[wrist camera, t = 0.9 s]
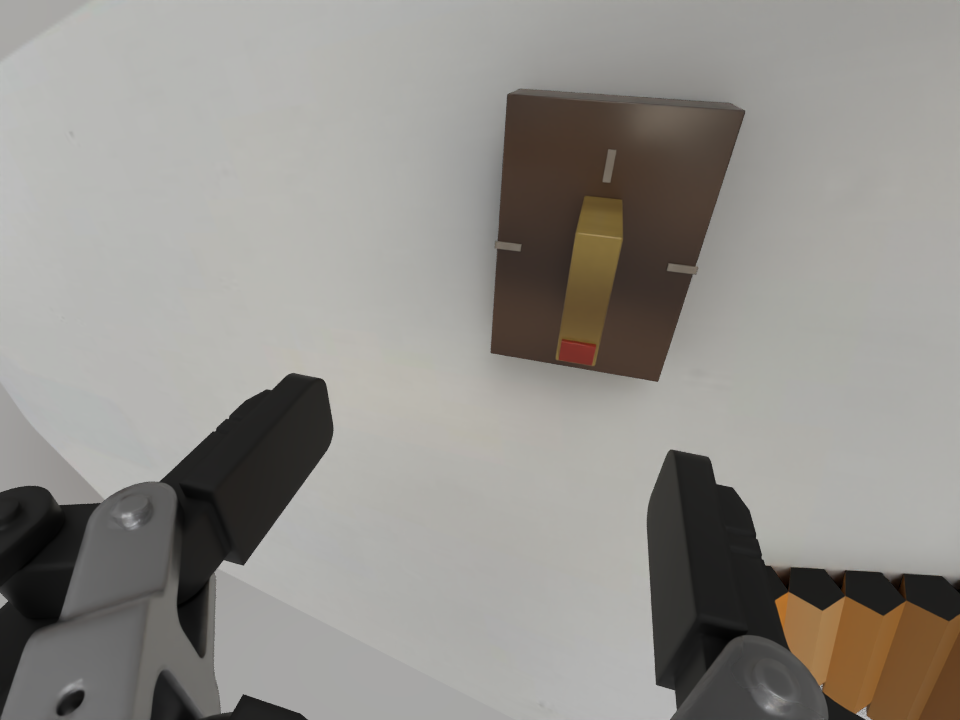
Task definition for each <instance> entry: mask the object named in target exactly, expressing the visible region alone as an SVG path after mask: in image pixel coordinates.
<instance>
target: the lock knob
mask: <svg viewBox="0 0 960 720" xmlns="http://www.w3.org/2000/svg"><path fill="white" fill-rule="evenodd" d="M622 242H623V204H622V200H620V199H611V198H601V197H592V196H585V197H584V200H583V204H582V208H581V212H580V217H579V221H578V225H577V229H576V233H575V239H574V246H573V252H572V258H571V264H570V271H569V277H568V283H567V289H566V295H565V302H564V308H563V314H562V320H561V327H560V333H559V339H558V345H557V351H556V360H560V361H566V362H572V363H578V364H584V365H589V366H595V364H596V359H597V355H598V350H599V345H600V341H601V336H602V332H603V327H604V323H605V318H606V314H607V309H608V305H609V300H610V296H611V291H612V287H613V282H614V278H615V273H616V269H617V264H618V260H619V255H620V251H621V246H622Z"/></svg>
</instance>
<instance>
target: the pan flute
mask: <svg viewBox="0 0 960 720" xmlns="http://www.w3.org/2000/svg"><path fill="white" fill-rule="evenodd" d="M765 567H766V571H767V574H768V578H769V581H770V585H771V589H772V592H773V596H774V599H775V603H776V606H777V610H778V613H779V617H780V621H781V624H782V628H783V631H784V635H785V638H786V641H787V644H788V647H789V649H790V651H791V653H792V654H794V655H795V656H796V657H797V658H798V659H799V660H800V661H801V662H802V663H803V664H804V665H805V666H806V667H807V668H808V670H809V671H810V672H811V674H812V675H813V676H814V678H815V679H816V681H817V683H818V684H819V686H820V685H821V684H823V688H822V692H824V693H825V694H826V695H827V696H829V697H830V698H831V699H832V700H834V701H835V702H837V703H838V704H840V705H841V706H843V707H844V708H846V709H848V710H849V711H851V712H853V713H855V714H856V713H857V712H859V711H860V710H861V709H863V708H864V707H865V706H866V709H867V716H868V717H869V718H871V719H872V720H960V593H959V592H958V591H957V590H955V589H954V588H953V587H952V586H951V585H950V584H949V583H948V582H947V581H946V580H945V579H944V578H943V577H942V576H927V575H910V574H904V575H903V578H902V581H901V584H900V587H899V590H898V591H897V590H896V589H895V588H894V586H893V585H892V584H891V583H890V582H889V581H888V580H887V579H886V578H885V577H884V575H883V574H882V573H876V572H859V571H845V575H844V580H843V584H842V588H841V590H840V589H839V587H838V586H837V585H836V584H835V582H834V581H833V580H832V579H831V577H830V576H829V575H828V574H827V572H826V571H825V570H824V569H808V568H791V571H790V579H789V586H788V590H787V589H786V587H785V586H784V584H783V583H782V581H781V580H780V579H779V577H778V576H777V574H776V573H775V571H774V570H773V568H772V567H771V566H765Z"/></svg>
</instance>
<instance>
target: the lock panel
mask: <svg viewBox="0 0 960 720" xmlns="http://www.w3.org/2000/svg"><path fill="white" fill-rule="evenodd" d="M744 115H745V110H743V109H741V108H739V107H737V106H735V105H733V104H731V103H721V102H706V101H691V100H677V99H662V98H648V97H633V96H618V95H604V94H589V93H575V92H560V91H545V90H531V89H518V90H516V91H514V92H511V93H509V94H508V95H507V107H506V122H505V137H504V153H503V168H502V184H501V199H500V215H499V230H498V241H495V248H497V261H496V277H495V292H494V308H493V323H492V338H491V353H493V354H499V355H505V356H511V357H517V358H522V359H528V360H534V361H540V362H546V363H552V364H557V365H563V366H569V367H575V368H581V369H586V370H592V371H598V372H604V373H610V374H615V375H621V376H627V377H633V378H639V379H645V380H650V381H656V382H658V381H659V377H660V374H661V371H662V368H663V365H664V362H665V359H666V356H667V353H668V350H669V347H670V343H671V340H672V337H673V334H674V331H675V328H676V325H677V322H678V319H679V316H680V313H681V309H682V306H683V303H684V300H685V297H686V294H687V291H688V288H689V285H690V282H691V278H692V275H693V274H695V275H696V273H697V270H698V267H695V266H696V263H697V260H698V257H699V254H700V251H701V248H702V244H703V241H704V238H705V235H706V232H707V229H708V226H709V223H710V220H711V217H712V214H713V210H714V207H715V204H716V201H717V198H718V195H719V192H720V189H721V186H722V183H723V180H724V176H725V173H726V170H727V167H728V164H729V161H730V158H731V155H732V152H733V149H734V146H735V142H736V139H737V136H738V133H739V130H740V127H741V124H742V121H743V118H744ZM585 196H592V197H601V198H611V199H620V200H622V204H623V242H622V246H621V251H620V255H619V260H618V264H617V269H616V273H615V278H614V282H613V287H612V291H611V296H610V300H609V305H608V309H607V314H606V318H605V323H604V327H603V332H602V336H601V341H600V345H599V350H598V355H597V359H596V364H595V366H589V365H584V364H578V363H572V362H566V361H560V360H556V351H557V345H558V339H559V333H560V327H561V320H562V314H563V308H564V302H565V295H566V289H567V283H568V277H569V271H570V264H571V258H572V252H573V246H574V239H575V233H576V229H577V225H578V221H579V217H580V212H581V208H582V204H583V200H584V197H585Z"/></svg>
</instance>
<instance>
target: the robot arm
mask: <svg viewBox="0 0 960 720" xmlns="http://www.w3.org/2000/svg"><path fill="white" fill-rule="evenodd" d="M332 436H333V421H332V415H331V409H330V404H329V398H328V392H327V387H326V383H325V381H324V380H323V379H320V378H316V377H310V376H305V375H300V374H295V373H291V374H289V375H287V376H286V377H285V378H284V379H283V380H282V381H281V382H280V383H279V384H278V385H277V386H276V387H275V388H274V389H273V390H265V391H263V392H261V393H259V394H257V395H255V396H253V397H252V398H250V399H248V400H246V401H245V402H244V403H243V404H241V405H240V406H239V407H238V408H237V409H236V410H235V411H234V412H233V413H232V414H231V415H230V416H229V419H226V420H225V421H223V422H222V423H221V424H220V425H219V426H218V427H217V428H216V431H215V432H212V433H211V434H210V435H209V436H208V437H207V438H205V439H204V440H203V441H202V442H201V443H200V444H199V445H198V446H197V447H196V448H195V449H194V450H193V451H192V452H191V453H190V454H189V455H187V456H186V457H185V458H184V459H183V460H182V461H181V462H180V463H179V464H178V465H177V466H176V467H175V468H174V469H173V470H172V471H171V472H170V473H168V474H167V475H166V476H165V477H164V478H163V479H162V480H161V481H160V482H144V483H139V484H135V485H132V486H129V487H127V488H124V489H122V490H120V491H118V492H116V493H114V494H113V495H111V496H110V497H108V498H107V499H106V500H104V501H103V502H102V503H96V504H95V503H94V504H75V505H58V503H57V502H56V500H55V499H54V498H53V496H52V495H51V493H50V492H49V491H48V490H47V489H45V488H42V487H39V486H24V487H18V488H14V489H10V490H6V491H3V492H1V493H0V593H1V594H2V595H3V596H4V597H5V598H6V599H7V600H8V602H7V603H6V604H5V605H4V606H3V607H2V608H1V609H0V720H307V719H306V718H305V717H304V716H303V715H301V714H300V713H297V712H294V711H291V710H288V709H285V708H282V707H279V706H276V705H273V704H270V703H267V702H264V701H261V700H259V699H256V698H253V697H250V696H247V695H244V694H243V696H242V697H241V699H240V701H239V703H238V704H237V706H236V708H235V709H234V711H233V712H229V713H222V714H221V707H220V697H219V691H218V686H217V682H216V678H215V672H214V637H215V601H216V576H215V573H214V572H215V570H216V569H217V568H218V567H219V565H220V564H221V563H222V561H223V560H226V561H229V562H233V563H236V564H240V565H243V566H244V564H245V563H246V561H247V560H248V559H249V557H250V556H251V555H252V553H253V552H254V550H255V549H256V548H257V546H258V545H259V544H260V542H261V541H262V539H263V538H264V537H265V535H266V534H267V532H268V531H269V530H270V528H271V527H272V526H273V524H274V523H275V521H276V520H277V519H278V517H279V516H280V515H281V513H282V512H283V510H284V509H285V508H286V506H287V505H288V504H289V502H290V501H291V499H292V498H293V497H294V495H295V494H296V492H297V491H298V490H299V488H300V487H301V486H302V484H303V483H304V481H305V480H306V479H307V477H308V476H309V475H310V473H311V472H312V470H313V469H314V468H315V466H316V465H317V464H318V462H319V461H320V459H321V458H322V457H323V455H324V454H325V452H326V451H327V449H328V448H329V446H330V443H331V440H332ZM647 537H648V554H649V571H650V588H651V606H652V623H653V640H654V657H655V675H656V685H658V686H662V687H665V688H669V689H672V690H675V694H676V706H677V711H676V713H675V714H674V715H673V717H672V718H671V719H670V720H865V719H863V718H862V717H860V716H858V715H856V714H855V713H853V712H851V711H849V710H848V709H846V708H844V707H843V706H841V705H840V704H838V703H837V702H835V701H834V700H832V699H831V698H830V697H829V696H827V695H826V694H825V693H824V692H822V690H821V688H820V686H819V684H818V683H817V681H816V679H815V678H814V676H813V675H812V674H811V672H810V671H809V670H808V668H807V667H806V666H805V665H804V664H803V663H802V662H801V661H800V660H799V659H798V658H797V657H796V656H795V655H794V654H792V653H791V651H790V649H789V647H788V644H787V641H786V638H785V635H784V631H783V628H782V624H781V621H780V617H779V613H778V610H777V606H776V603H775V599H774V596H773V592H772V589H771V585H770V581H769V578H768V574H767V571H766V567H765V564H764V560H762V559H761V556H762V553H761V550H760V546H759V542H758V539H756V532H755V528H754V525H753V521H752V518H751V514H750V510H749V509H748V508H747V506H746V505H745V504H744V502H743V501H742V500H741V498H740V497H739V495H738V494H737V493H736V491H735V490H734V489H733V488H732V487H727V486H723V485H718V484H716V482H715V477H714V473H713V468H712V464H711V461H710V459H709V457H706V456H701V455H696V454H691V453H686V452H681V451H676V450H669V452H668V453H667V455H666V458H665V460H664V463H663V466H662V468H661V471H660V473H659V476H658V479H657V481H656V484H655V486H654V489H653V491H652V494H651V497H650V501H649V505H648V512H647Z"/></svg>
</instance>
